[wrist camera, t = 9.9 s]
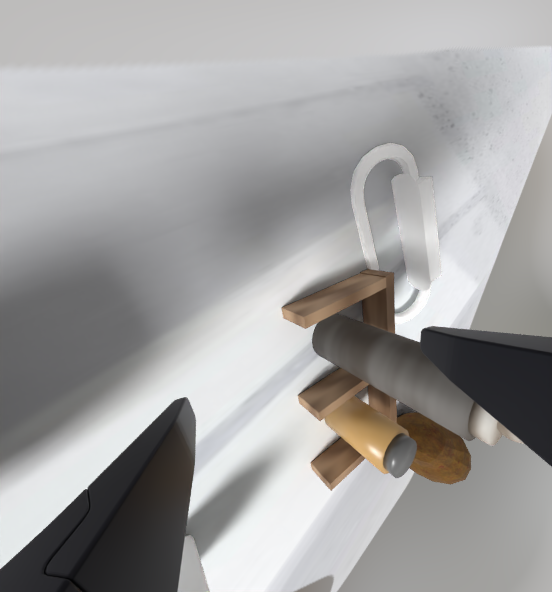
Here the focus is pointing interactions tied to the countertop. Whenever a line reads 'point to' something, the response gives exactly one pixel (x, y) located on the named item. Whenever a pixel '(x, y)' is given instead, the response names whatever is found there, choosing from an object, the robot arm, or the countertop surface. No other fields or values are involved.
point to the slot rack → (341, 384)
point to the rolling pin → (403, 221)
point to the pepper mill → (404, 376)
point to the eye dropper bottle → (191, 569)
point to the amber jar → (374, 436)
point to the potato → (436, 450)
